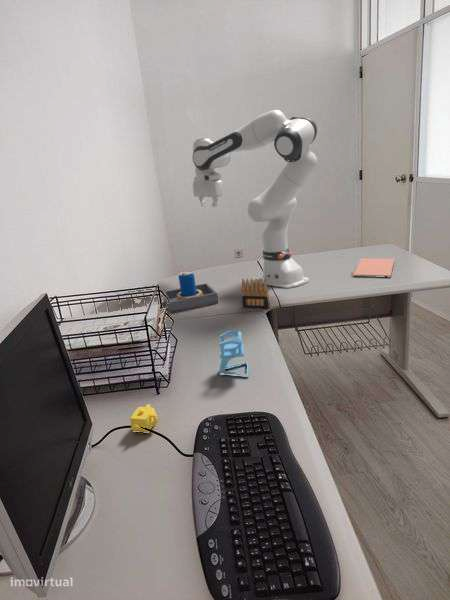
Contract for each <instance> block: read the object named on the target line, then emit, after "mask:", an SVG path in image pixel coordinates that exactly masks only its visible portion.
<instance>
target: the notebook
mask: <svg viewBox="0 0 450 600" xmlns="http://www.w3.org/2000/svg"><path fill="white" fill-rule="evenodd" d="M394 264H395V258H369V257H367V258H365V257H364V258H362V257H361V258H360V259H358V260H357V262H356V264H355V265H354V268H353V269H352V272H350V275H351V274H352V273H353V274H352V277H353V276H390V277H391V276H392V271H393V268H394Z"/></svg>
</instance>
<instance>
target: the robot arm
mask: <svg viewBox="0 0 450 600" xmlns="http://www.w3.org/2000/svg"><path fill="white" fill-rule="evenodd" d="M317 127H318V126H317V124H316V122H315V121H314V120H313V119H312V118H310V117H296V116H292V117H290V119H287V117H286V115H285V114H284V112H282V111H281V110H279V109H272V110H270V111H267V112H264V113H262V114H259V115H257V116H256V117H254V118H253V119H252V120H250V121H248V122H247V123H245V124H243V125H242V126H240V127H239V128H238V129H236V130H234V131H233V132H231V133H229V134H227V135H225V136H224V137H222V138H220V139H218V140H216V141H212V140H211V139H210V138H208V137H204V138H199V139H196V140H195V141H194V142H193V143H192V144H193V145H192V163H193V164H194V166H195V169H194V171H195V173H194V174H195V177H194V178H193V183H192V190H193V191H192V192H193V193H192V194H193V195H194V197H195V198H196V197H197V198H198V199H199V202H200V205H201V207H206V206H207V203H206V202H205V198H212V203H211V207H212V208H216V207H218V200H219V197H223V194H224V190H223V188H224V187H223V182H222V180H221V179H222V174H221V173H219V172H217V171H215V169H219V168H223V167H226V166H227V165H228V164H229V163H230V161H231V153H233V152H234V153H235V152H240V151H252V150H257V149H260V148H263V147H265V146H267V145H269V144H271V143H272V142H273V146H274V148H275V151H276V153H277V154H278V155H279V156H280V157H281V158H283V160H284V161H285V162H287V163H286V165H284V168H282V170H281V172H280V173H279V174H278V175H277V178H275V180H274V181H273V182H272V183H271V184H270V185H269V186H267V188H265V190H263V192H261V193H260V194H259V195H258V196H256V197H255V198H252V200H250V201H249V203H248V204H247V215H248V216H249V218H250V219H251V220H252V221H253V222H256V223H266V222H268V223H267V227H266V228H265V229H264V231H263V232H262V247H263V250H262V258H263V264H262V279H261V280H262V285H264V279H266V283H267V286H273V287H278V288H279V287H280V288H283V289H284V288H285V289H290V288H295V287H299V286H301V285H305V284H306V283H308V282H309V281H310V279H309V278H308V277H306V276H304V271H303V268H302V267H301V265H299V264H298V263H297V262H296V261H295V260H294V259H293V258H292V254H293V251H290V250H289V248H288V229H289V225H290V221H291V217H292V216H293V214H294V213H295V211H296V210H297V208H298V207H297V206H298V201H297V198H296V197H297V196H298V195H299V194H300V192H301V191H302V190H303V189H304V187H305V186H306V184H307V183H308V182H309V181H310V179H311V177H312V175H313V174H314V172H315V169H316V168H317V166H318V158H317V155H316V154H315V153H314V152H312V151H311V149H310V145H312V144H313V142H314V141H315V139H316V137H317V134H318V128H317Z"/></svg>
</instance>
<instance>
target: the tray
mask: <svg viewBox="0 0 450 600" xmlns="http://www.w3.org/2000/svg"><path fill="white" fill-rule="evenodd" d="M195 285H196V292H197V295H195V296H190V297H182V295H181V289H180V288H175V289H169V290H164V291H162V294H163V293H164V294H165V295H166V296H167V297H168V299H169V304H168V307H167V308H168V310H169V311H170V313H171V314H174V313H179V312H182V311H187V310H192V309H198V308H202V307H207V306H210V305H211V306H212V305H215V304H219V295H218V292H217V291H216V290H215V289H214V288H213V287H212V286H211V285H210V284H208V283H207V282H205V283H200V284H195ZM163 300H164V303H165V305H166V304H167V299H166V298H165V297H164V296H163Z"/></svg>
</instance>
